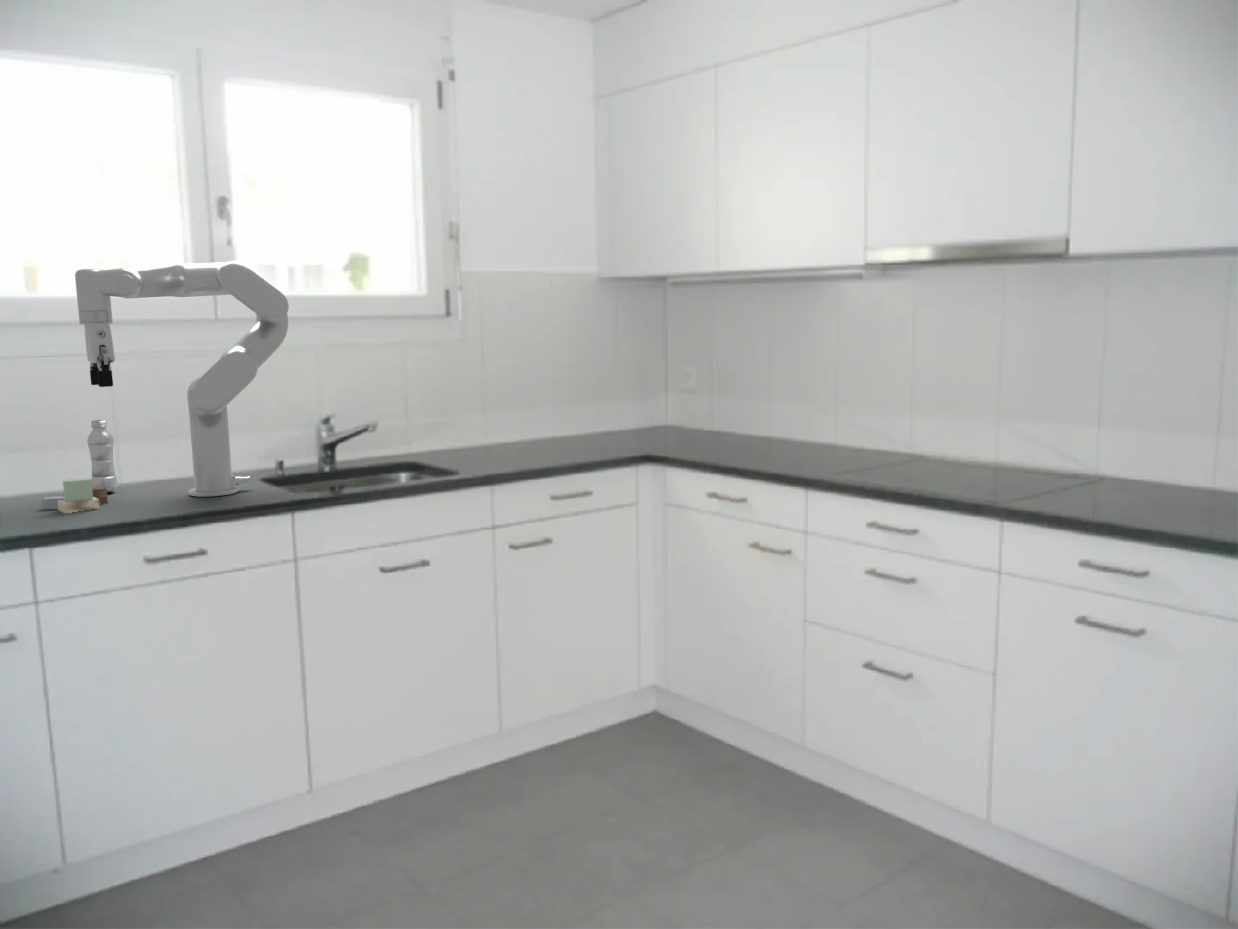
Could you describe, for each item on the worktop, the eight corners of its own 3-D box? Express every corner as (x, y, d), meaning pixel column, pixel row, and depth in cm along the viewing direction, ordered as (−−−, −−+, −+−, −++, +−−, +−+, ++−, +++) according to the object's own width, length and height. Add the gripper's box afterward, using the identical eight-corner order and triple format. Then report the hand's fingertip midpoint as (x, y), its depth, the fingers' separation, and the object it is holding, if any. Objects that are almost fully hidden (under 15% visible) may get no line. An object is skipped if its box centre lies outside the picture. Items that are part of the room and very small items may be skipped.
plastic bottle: (107, 490, 278) (100, 418, 275) (123, 492, 275) (117, 419, 272) (86, 494, 272) (79, 421, 269) (102, 495, 269) (96, 422, 266)
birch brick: (93, 508, 255) (91, 496, 254) (99, 510, 251) (98, 498, 251) (58, 512, 249) (57, 500, 249) (65, 515, 245) (64, 503, 245)
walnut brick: (100, 502, 261) (99, 487, 260) (107, 503, 259) (106, 488, 258) (81, 505, 257) (79, 490, 256) (88, 506, 255) (87, 491, 254)
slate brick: (73, 507, 255) (72, 495, 254) (68, 510, 251) (67, 498, 251) (48, 508, 254) (46, 496, 253) (42, 511, 250) (41, 499, 250)
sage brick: (91, 497, 253) (89, 477, 252) (93, 499, 250) (91, 479, 249) (64, 499, 250) (62, 480, 249) (66, 501, 247) (64, 482, 246)
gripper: (119, 318, 250) (125, 386, 252) (104, 318, 263) (110, 383, 266) (85, 318, 245) (92, 388, 248) (73, 318, 259) (79, 384, 261)
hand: (102, 385), depth 257 cm, fingers open, 9 cm apart
